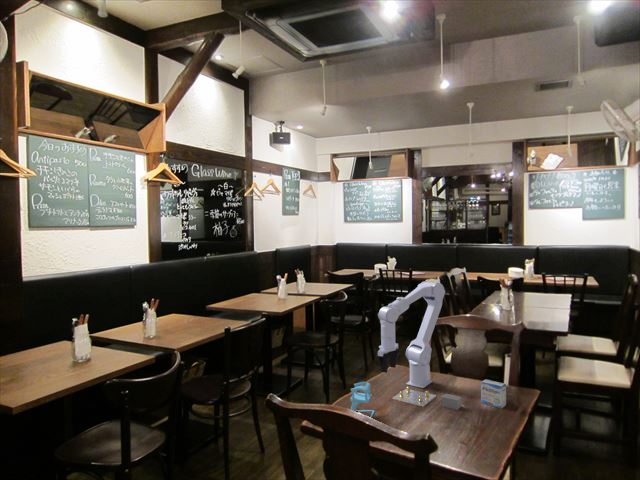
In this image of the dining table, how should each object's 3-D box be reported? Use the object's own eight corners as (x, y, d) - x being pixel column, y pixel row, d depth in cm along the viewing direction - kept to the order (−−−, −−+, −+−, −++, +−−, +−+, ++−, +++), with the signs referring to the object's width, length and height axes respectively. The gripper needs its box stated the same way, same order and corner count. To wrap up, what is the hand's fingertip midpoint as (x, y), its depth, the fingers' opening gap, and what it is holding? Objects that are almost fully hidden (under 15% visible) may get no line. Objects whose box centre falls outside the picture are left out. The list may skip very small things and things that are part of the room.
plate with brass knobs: (405, 391, 180) (405, 383, 180) (436, 397, 173) (436, 390, 173) (392, 400, 171) (392, 392, 171) (423, 407, 163) (423, 399, 163)
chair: (352, 410, 162) (352, 378, 162) (374, 412, 160) (374, 380, 159) (347, 419, 155) (346, 385, 155) (370, 421, 152) (369, 387, 152)
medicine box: (480, 404, 165) (480, 381, 165) (485, 400, 169) (485, 378, 168) (502, 409, 160) (501, 386, 160) (506, 406, 163) (506, 383, 163)
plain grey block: (441, 402, 170) (441, 390, 170) (470, 408, 163) (470, 396, 163) (432, 409, 162) (432, 397, 162) (462, 416, 156) (462, 404, 156)
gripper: (387, 331, 187) (387, 363, 187) (370, 338, 175) (371, 372, 175) (402, 333, 183) (403, 366, 183) (386, 341, 171) (387, 375, 171)
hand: (388, 369), depth 179 cm, fingers open, 7 cm apart
